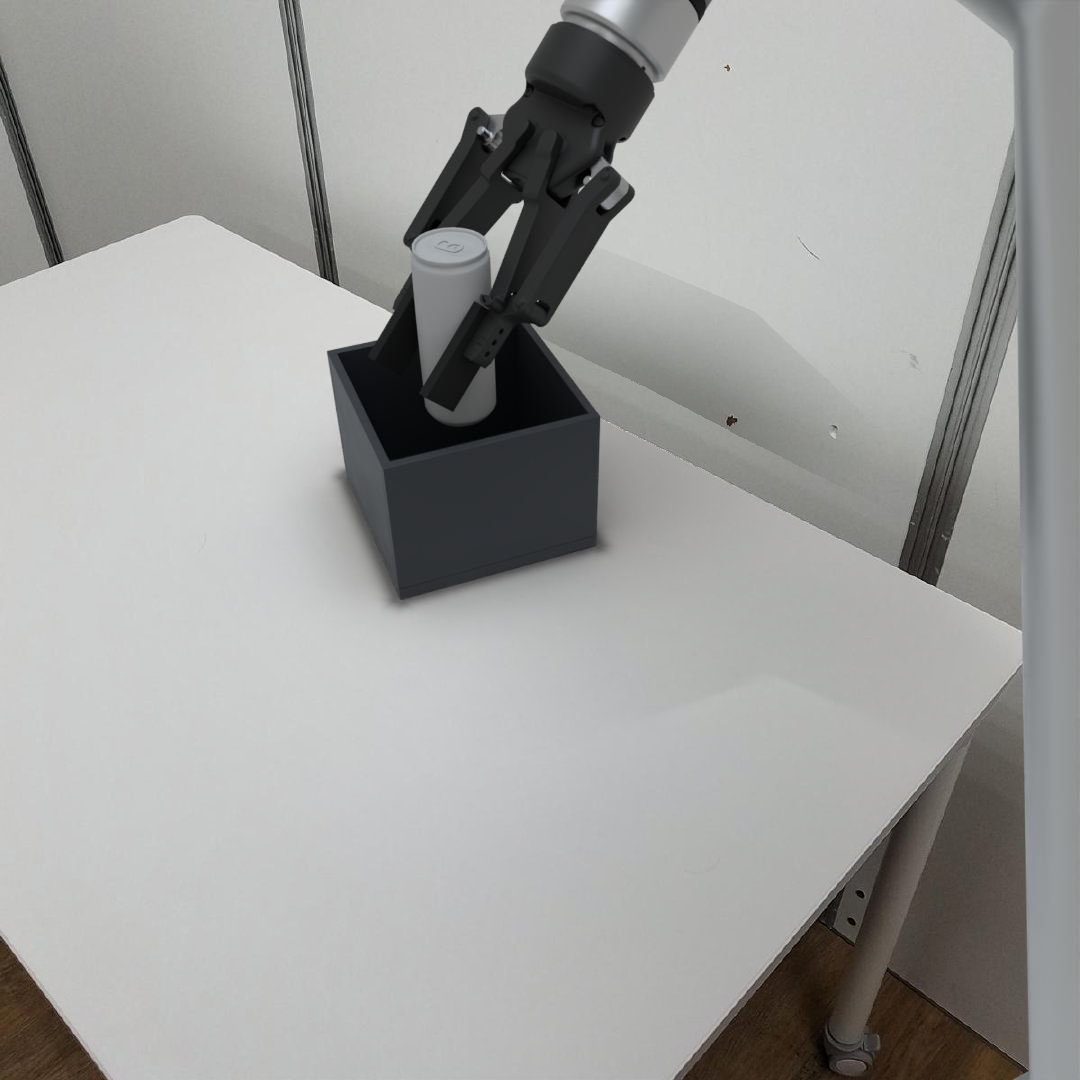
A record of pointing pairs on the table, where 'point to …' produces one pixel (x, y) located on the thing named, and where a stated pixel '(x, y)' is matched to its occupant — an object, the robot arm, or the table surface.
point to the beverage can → (451, 310)
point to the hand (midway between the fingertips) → (410, 383)
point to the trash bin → (469, 466)
